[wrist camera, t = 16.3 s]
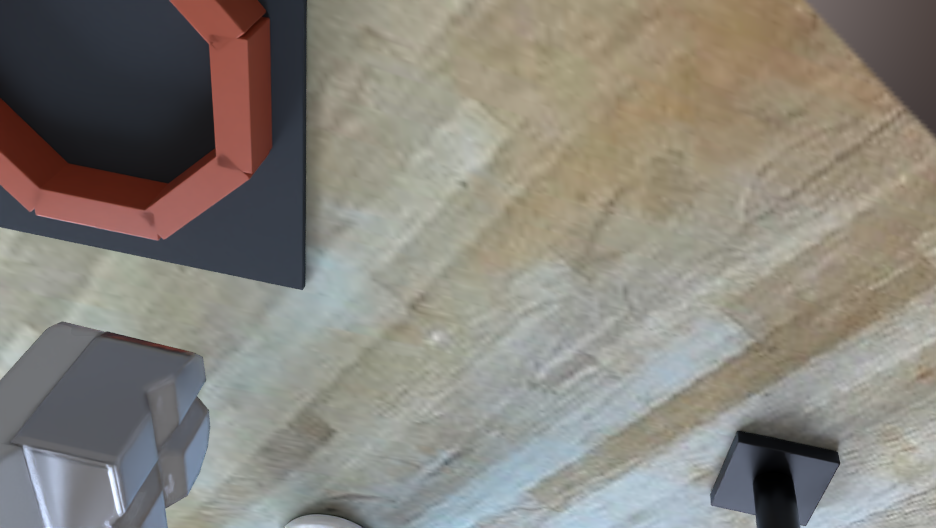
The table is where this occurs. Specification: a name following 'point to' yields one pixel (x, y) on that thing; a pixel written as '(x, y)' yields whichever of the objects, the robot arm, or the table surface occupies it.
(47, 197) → the hoop
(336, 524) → the candle
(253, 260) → the mat
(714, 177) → the table surface
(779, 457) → the peg stand
